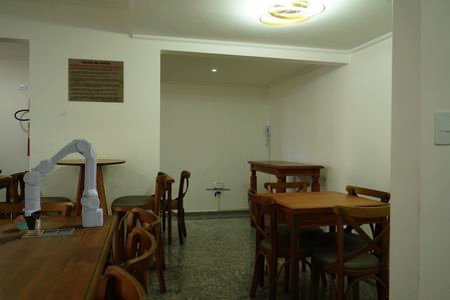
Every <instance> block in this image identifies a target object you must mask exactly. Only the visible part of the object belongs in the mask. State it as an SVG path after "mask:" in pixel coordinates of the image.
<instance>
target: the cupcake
mask: <svg viewBox="0 0 450 300" xmlns="http://www.w3.org/2000/svg"><path fill="white" fill-rule="evenodd" d="M23 215H24V214H22V215H21V214H20V215H18V216H17V217H16V218H14V224H16V225H17V226H18V229H19V231H24V230H28V226H27V223H26V221H25V219H24V218H23Z"/></svg>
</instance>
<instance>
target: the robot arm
mask: <svg viewBox="0 0 450 300" xmlns="http://www.w3.org/2000/svg"><path fill="white" fill-rule="evenodd" d="M74 153H75V154H77V153H78V154H80V155H81V156H82V157H83V158H84V160H85V161H84V165H85V166H84V189H83V192H82V197H81V199H80V204H81V206H82V209H81V210H82V212H81V213H82V216H81V217H82V220H81V221H82V227H83V228H92V227H93V228H95V227H102V226H103V224H104V217H103V216H104V215H103V214H104V211H103V208H99V206H100V204H101V201H100V199H99V194H98V191H97V188H96V187H97V158H98V157H97V156H98V155H97V153H96V150H95V149H94V146H93V145H92V142H90V141H89V140H88V139H86V138H80V139H79V138H76V139H73V140H72V141H71V142H68V143H67V144H66V145H65V146H63V147H62V148H61V149H60V150H59V151H57V153H55V154H54V155H53V156H52V157H50V159H46V158H45V159H42V160H40V161H39V164H37V165H36V166H35V167H32V168H31V169H30V171H28V172H26V173H25V174H24V175H23V178H22V179H23V182H24V207H25V208H22V212H24V214H22V215H23V218H24V219H25V221H26V223H27V226H28V229H29V230H34V229H35V224H36V219H41V216H42V213H43V210H41V209H42V208H41V189H40V188H41V187H40V183H41V181H42V179H43V178H45V177H47V175H49V174H50V173H51V172H52V171H53V170H54V169H55V168H56V167H55V166H56V165H57V164H58V163H60V161H62V160H63V159H64V158H66V157H67V156H68V155H70V154H74ZM28 229H27V230H28Z"/></svg>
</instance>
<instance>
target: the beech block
mask: <svg viewBox="0 0 450 300" xmlns="http://www.w3.org/2000/svg"><path fill="white" fill-rule="evenodd" d="M27 232H28V235H38V234H39V233H40V232H41V218H39V219H36V224H35V229H34V230H29V229H27Z"/></svg>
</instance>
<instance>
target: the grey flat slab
mask: <svg viewBox="0 0 450 300" xmlns="http://www.w3.org/2000/svg"><path fill="white" fill-rule="evenodd" d="M75 230H76V229H75V228H74V227H73V228H60V229H46V230H45V229H43V230H41V229H40V231H41V232H40V233H39V234H38V235H28V231H26V233H24V234H23V235H21V237H20V238H21V239H35V238H36V239H37V238H48V237H49V238H50V237H62V236H72V235H73V233H74V232H75Z"/></svg>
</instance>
